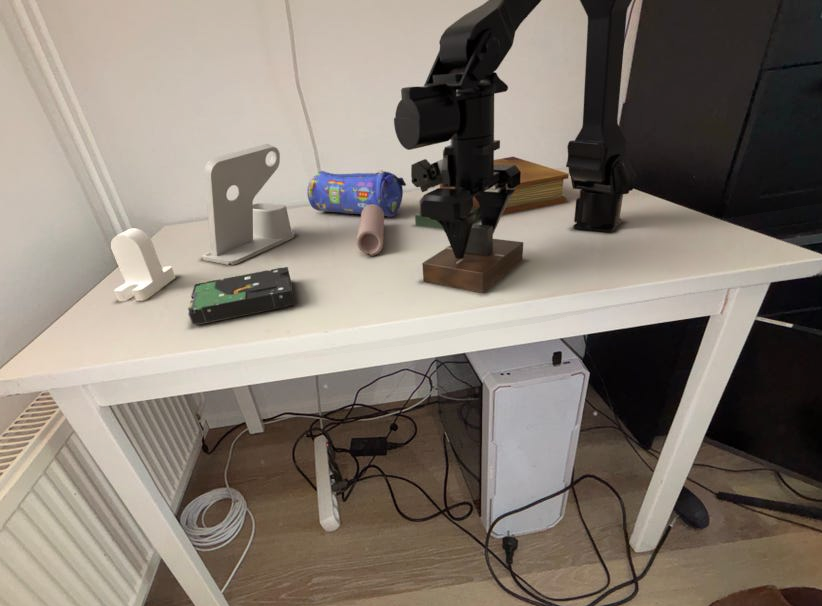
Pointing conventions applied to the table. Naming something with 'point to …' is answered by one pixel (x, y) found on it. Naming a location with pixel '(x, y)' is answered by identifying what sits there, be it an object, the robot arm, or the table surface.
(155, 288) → the white stand
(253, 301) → the disk drive
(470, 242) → the knob
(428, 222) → the button box
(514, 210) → the diary
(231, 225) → the grey bracket stand
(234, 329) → the table surface
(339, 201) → the pencil case
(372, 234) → the beige hollow tube
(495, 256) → the panel
